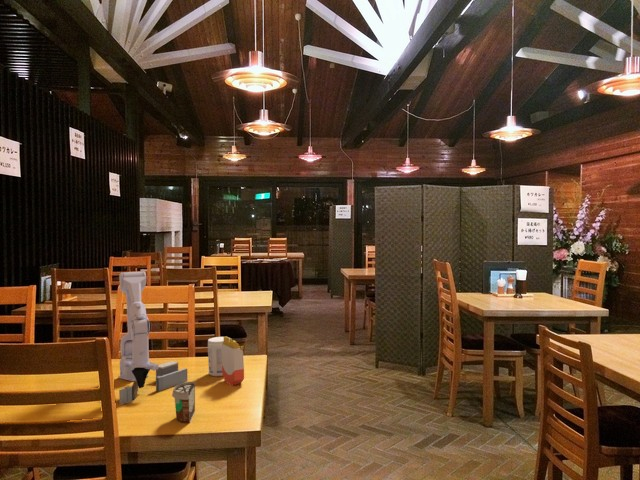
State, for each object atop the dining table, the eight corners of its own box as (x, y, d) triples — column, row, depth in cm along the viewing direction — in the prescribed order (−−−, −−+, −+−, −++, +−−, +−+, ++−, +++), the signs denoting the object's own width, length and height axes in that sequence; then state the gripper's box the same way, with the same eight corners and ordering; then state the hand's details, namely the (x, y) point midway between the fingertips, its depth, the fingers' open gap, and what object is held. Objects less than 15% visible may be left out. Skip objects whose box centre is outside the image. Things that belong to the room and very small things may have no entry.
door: (130, 400, 171) (130, 387, 171) (135, 390, 182) (134, 377, 182) (134, 400, 172) (134, 386, 171) (138, 390, 182) (138, 377, 182)
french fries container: (232, 377, 196) (231, 334, 195) (245, 384, 187) (244, 339, 187) (222, 380, 193) (221, 335, 193) (234, 387, 184) (233, 340, 184)
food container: (177, 410, 161) (176, 381, 161) (195, 410, 162) (195, 380, 161) (168, 425, 149) (168, 394, 149) (188, 425, 149) (188, 393, 149)
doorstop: (155, 380, 194) (155, 365, 194) (171, 375, 201) (171, 361, 200) (162, 382, 192) (162, 367, 191) (178, 376, 198) (178, 362, 198)
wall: (119, 403, 168) (118, 389, 168) (184, 380, 193) (184, 367, 193) (122, 404, 167) (121, 390, 167) (188, 381, 193) (187, 368, 192)
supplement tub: (235, 370, 206) (234, 336, 206) (226, 377, 197) (226, 342, 196) (213, 369, 208) (213, 336, 207) (204, 376, 198) (203, 341, 198)
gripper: (117, 352, 178) (118, 388, 178) (148, 355, 172) (149, 393, 173) (131, 348, 184) (132, 383, 185) (161, 350, 179) (162, 387, 179)
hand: (141, 387), depth 179 cm, fingers closed
